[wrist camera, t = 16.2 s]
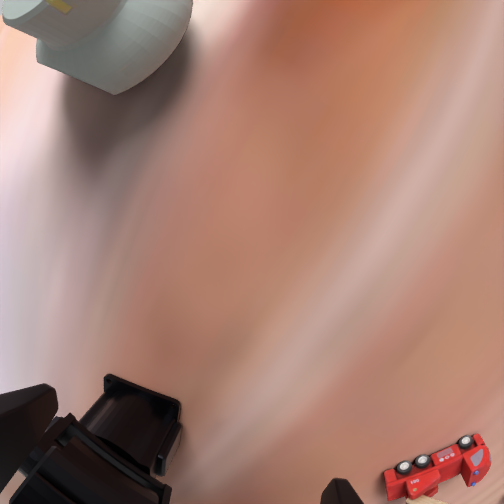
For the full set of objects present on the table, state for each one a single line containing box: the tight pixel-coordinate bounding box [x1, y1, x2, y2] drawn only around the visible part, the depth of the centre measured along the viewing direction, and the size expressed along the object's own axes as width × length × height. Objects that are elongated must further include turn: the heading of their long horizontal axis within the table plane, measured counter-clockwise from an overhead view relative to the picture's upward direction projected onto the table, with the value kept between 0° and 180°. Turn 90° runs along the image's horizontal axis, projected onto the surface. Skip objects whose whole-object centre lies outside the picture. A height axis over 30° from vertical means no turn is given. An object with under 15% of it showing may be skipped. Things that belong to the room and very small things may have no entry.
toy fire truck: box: [384, 434, 491, 504], centre depth 16 cm, size 3×14×10 cm, turn 109°
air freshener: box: [2, 0, 193, 95], centre depth 12 cm, size 11×8×10 cm
